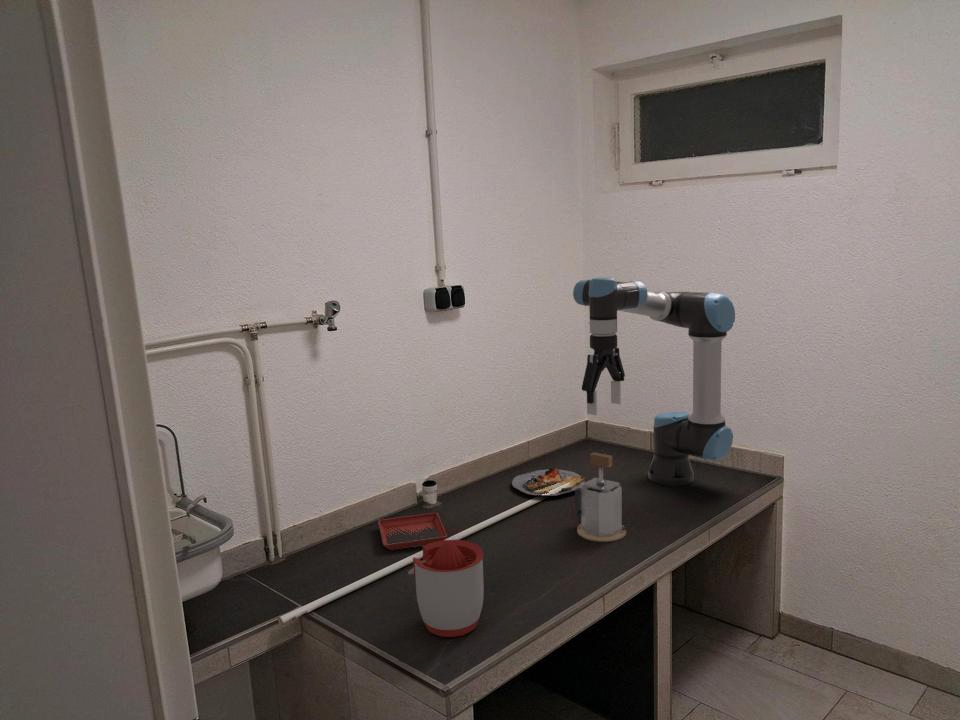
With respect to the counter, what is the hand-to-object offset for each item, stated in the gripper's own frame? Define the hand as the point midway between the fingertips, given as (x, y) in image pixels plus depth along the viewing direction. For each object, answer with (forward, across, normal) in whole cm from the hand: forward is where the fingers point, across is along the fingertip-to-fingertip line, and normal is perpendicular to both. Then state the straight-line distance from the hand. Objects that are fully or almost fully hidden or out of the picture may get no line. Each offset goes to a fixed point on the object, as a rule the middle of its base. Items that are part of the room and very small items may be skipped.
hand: (604, 408), depth 205 cm
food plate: (+37, -21, -33) cm, 54 cm away
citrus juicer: (+36, +65, -4) cm, 74 cm away
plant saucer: (+36, +35, -44) cm, 67 cm away
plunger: (+32, +2, 0) cm, 32 cm away
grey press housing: (+36, +2, 0) cm, 36 cm away
